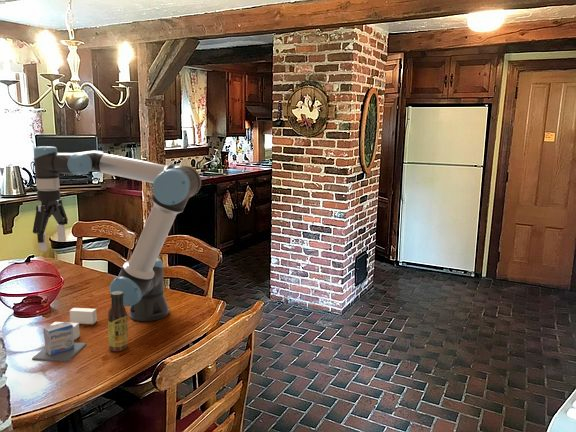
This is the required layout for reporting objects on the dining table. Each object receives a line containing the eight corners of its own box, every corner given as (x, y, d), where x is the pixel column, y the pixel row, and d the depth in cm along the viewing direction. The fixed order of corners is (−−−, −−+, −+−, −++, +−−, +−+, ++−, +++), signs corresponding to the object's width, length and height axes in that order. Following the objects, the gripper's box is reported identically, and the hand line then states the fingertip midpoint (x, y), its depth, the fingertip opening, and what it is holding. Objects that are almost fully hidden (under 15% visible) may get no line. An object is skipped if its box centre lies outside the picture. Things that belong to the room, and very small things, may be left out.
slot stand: (96, 321, 182) (96, 308, 181) (75, 339, 167) (74, 326, 166) (74, 319, 183) (73, 307, 182) (51, 338, 167) (49, 325, 166)
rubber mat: (86, 344, 163) (86, 343, 163) (68, 361, 151) (67, 360, 151) (53, 342, 164) (52, 341, 164) (32, 359, 152) (32, 358, 152)
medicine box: (50, 356, 153) (48, 331, 152) (45, 351, 156) (43, 327, 155) (74, 348, 159) (73, 324, 157) (69, 344, 162) (67, 320, 160)
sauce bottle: (116, 354, 157) (113, 298, 153) (104, 349, 160) (101, 293, 156) (132, 346, 163) (130, 292, 159) (120, 341, 166) (117, 288, 162)
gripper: (55, 184, 183) (59, 237, 188) (17, 194, 159) (23, 255, 163) (74, 185, 183) (78, 238, 187) (39, 195, 159) (44, 255, 163)
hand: (52, 246), depth 175 cm, fingers open, 13 cm apart
